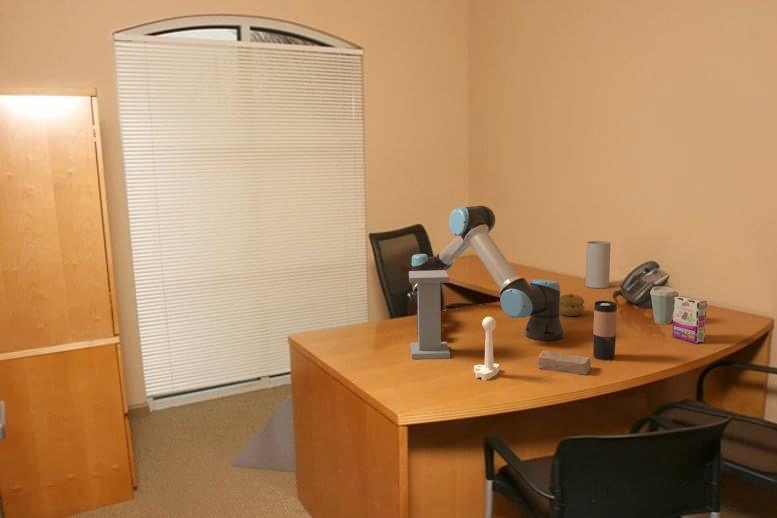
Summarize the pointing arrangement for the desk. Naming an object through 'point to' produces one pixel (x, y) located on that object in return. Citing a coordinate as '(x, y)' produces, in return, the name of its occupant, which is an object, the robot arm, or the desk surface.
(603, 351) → the travel mug
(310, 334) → the desk surface
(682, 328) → the candy bar box
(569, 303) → the brown round lump
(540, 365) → the brick
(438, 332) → the stand
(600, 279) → the cylinder vase
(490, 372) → the joystick
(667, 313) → the disposable coffee cup
